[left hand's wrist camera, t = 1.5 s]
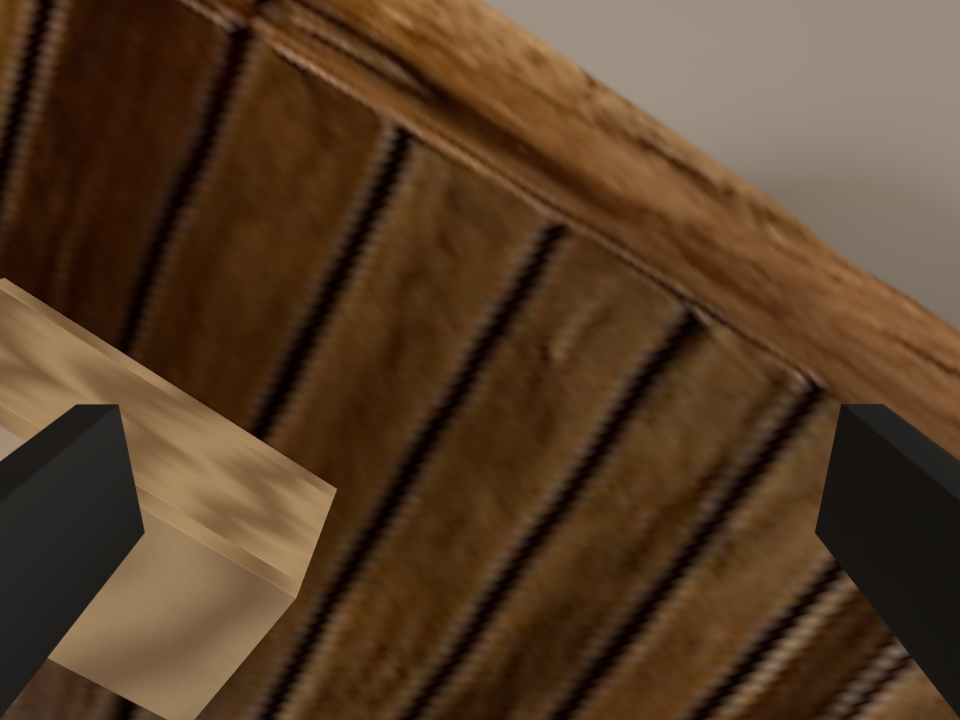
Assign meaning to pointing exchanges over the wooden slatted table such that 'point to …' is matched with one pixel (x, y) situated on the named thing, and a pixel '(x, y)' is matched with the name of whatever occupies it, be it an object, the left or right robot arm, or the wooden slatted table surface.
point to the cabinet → (166, 516)
